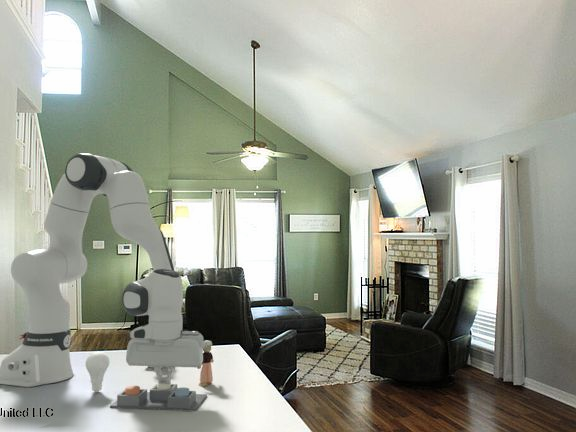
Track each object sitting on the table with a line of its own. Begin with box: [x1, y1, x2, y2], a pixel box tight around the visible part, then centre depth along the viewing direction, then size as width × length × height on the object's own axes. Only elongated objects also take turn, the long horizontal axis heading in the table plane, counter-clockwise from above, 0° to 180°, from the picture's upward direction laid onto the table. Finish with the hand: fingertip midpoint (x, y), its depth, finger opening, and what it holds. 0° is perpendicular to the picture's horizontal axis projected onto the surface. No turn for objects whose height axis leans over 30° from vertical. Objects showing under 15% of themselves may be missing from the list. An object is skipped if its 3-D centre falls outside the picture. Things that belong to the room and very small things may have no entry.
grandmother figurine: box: [196, 339, 214, 387], centre depth 138 cm, size 8×4×13 cm, turn 168°
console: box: [109, 383, 208, 412], centre depth 122 cm, size 22×11×3 cm, turn 86°
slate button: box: [175, 386, 190, 397], centre depth 119 cm, size 4×4×3 cm
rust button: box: [124, 385, 141, 395], centre depth 120 cm, size 4×4×3 cm
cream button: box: [156, 381, 172, 390], centre depth 125 cm, size 4×4×3 cm
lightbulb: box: [85, 351, 110, 393], centre depth 130 cm, size 6×6×11 cm
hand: (164, 382), depth 125 cm, fingers closed, pressing on cream button
